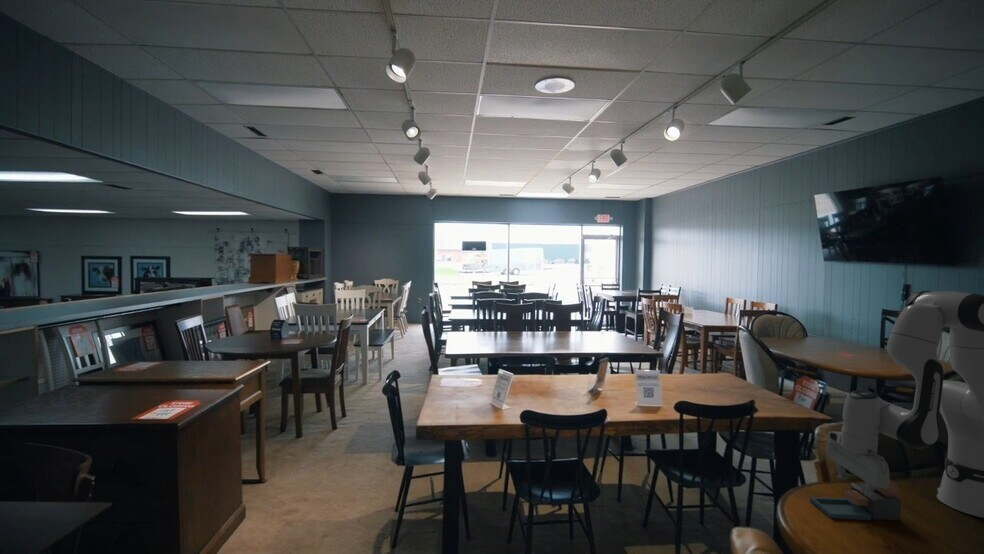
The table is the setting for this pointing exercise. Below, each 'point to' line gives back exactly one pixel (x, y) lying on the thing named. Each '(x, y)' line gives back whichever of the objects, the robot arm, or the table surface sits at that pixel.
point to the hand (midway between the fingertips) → (854, 486)
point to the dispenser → (882, 501)
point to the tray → (840, 508)
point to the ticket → (857, 498)
